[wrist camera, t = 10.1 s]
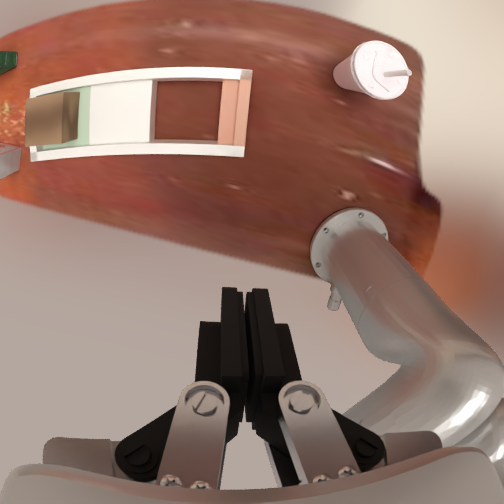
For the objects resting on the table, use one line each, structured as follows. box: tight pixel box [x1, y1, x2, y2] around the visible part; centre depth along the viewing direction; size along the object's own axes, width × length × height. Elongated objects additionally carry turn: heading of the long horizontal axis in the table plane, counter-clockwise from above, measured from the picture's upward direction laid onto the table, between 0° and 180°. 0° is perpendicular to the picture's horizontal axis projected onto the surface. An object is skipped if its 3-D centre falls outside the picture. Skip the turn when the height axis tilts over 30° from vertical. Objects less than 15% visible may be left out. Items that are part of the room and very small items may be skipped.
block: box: [25, 92, 80, 147], centre depth 24 cm, size 6×6×4 cm
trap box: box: [30, 67, 252, 162], centre depth 28 cm, size 10×28×4 cm, turn 85°
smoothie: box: [333, 41, 412, 100], centre depth 23 cm, size 6×6×14 cm
